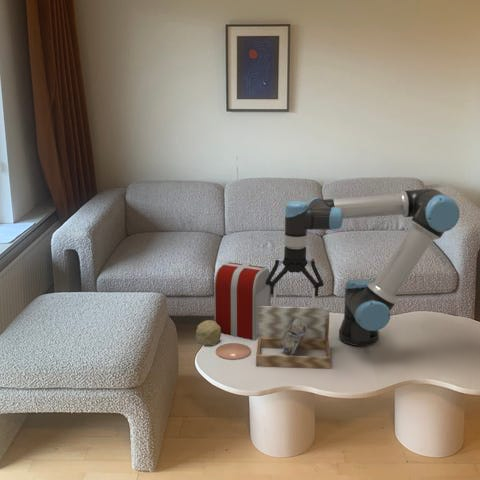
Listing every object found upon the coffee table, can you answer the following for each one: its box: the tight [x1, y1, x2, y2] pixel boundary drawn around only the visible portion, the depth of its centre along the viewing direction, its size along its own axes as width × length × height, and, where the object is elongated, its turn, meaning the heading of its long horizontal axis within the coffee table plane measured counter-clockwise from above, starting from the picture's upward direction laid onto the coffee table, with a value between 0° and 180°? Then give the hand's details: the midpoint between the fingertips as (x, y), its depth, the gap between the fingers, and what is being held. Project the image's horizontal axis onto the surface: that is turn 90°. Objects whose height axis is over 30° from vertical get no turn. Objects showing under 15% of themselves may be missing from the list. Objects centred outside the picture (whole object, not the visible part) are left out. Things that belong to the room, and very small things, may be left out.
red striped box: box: [213, 261, 272, 341], centre depth 259 cm, size 16×18×27 cm
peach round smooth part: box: [215, 342, 252, 361], centre depth 243 cm, size 13×13×1 cm
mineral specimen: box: [278, 319, 307, 356], centre depth 240 cm, size 15×8×4 cm
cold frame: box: [255, 305, 332, 370], centre depth 237 cm, size 26×17×16 cm, turn 86°
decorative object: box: [195, 319, 222, 346], centre depth 251 cm, size 9×10×10 cm
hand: (293, 304), depth 234 cm, fingers open, 13 cm apart
